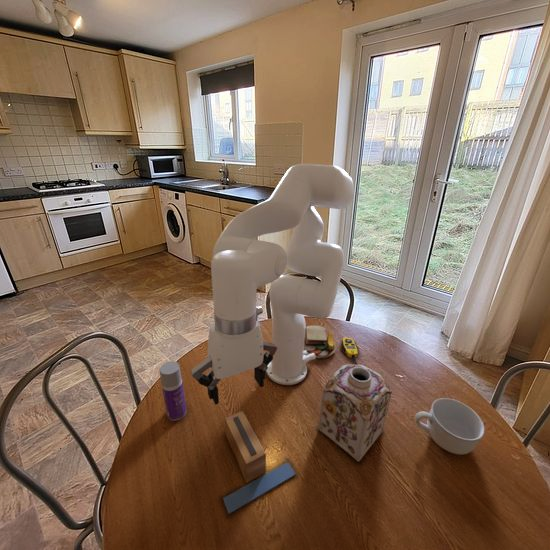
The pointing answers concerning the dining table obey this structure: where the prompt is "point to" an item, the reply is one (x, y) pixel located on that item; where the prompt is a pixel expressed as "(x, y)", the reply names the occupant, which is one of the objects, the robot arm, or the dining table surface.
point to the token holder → (245, 446)
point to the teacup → (452, 425)
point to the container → (173, 390)
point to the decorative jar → (354, 408)
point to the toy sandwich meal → (318, 342)
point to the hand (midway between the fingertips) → (237, 390)
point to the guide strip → (258, 487)
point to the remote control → (350, 348)
